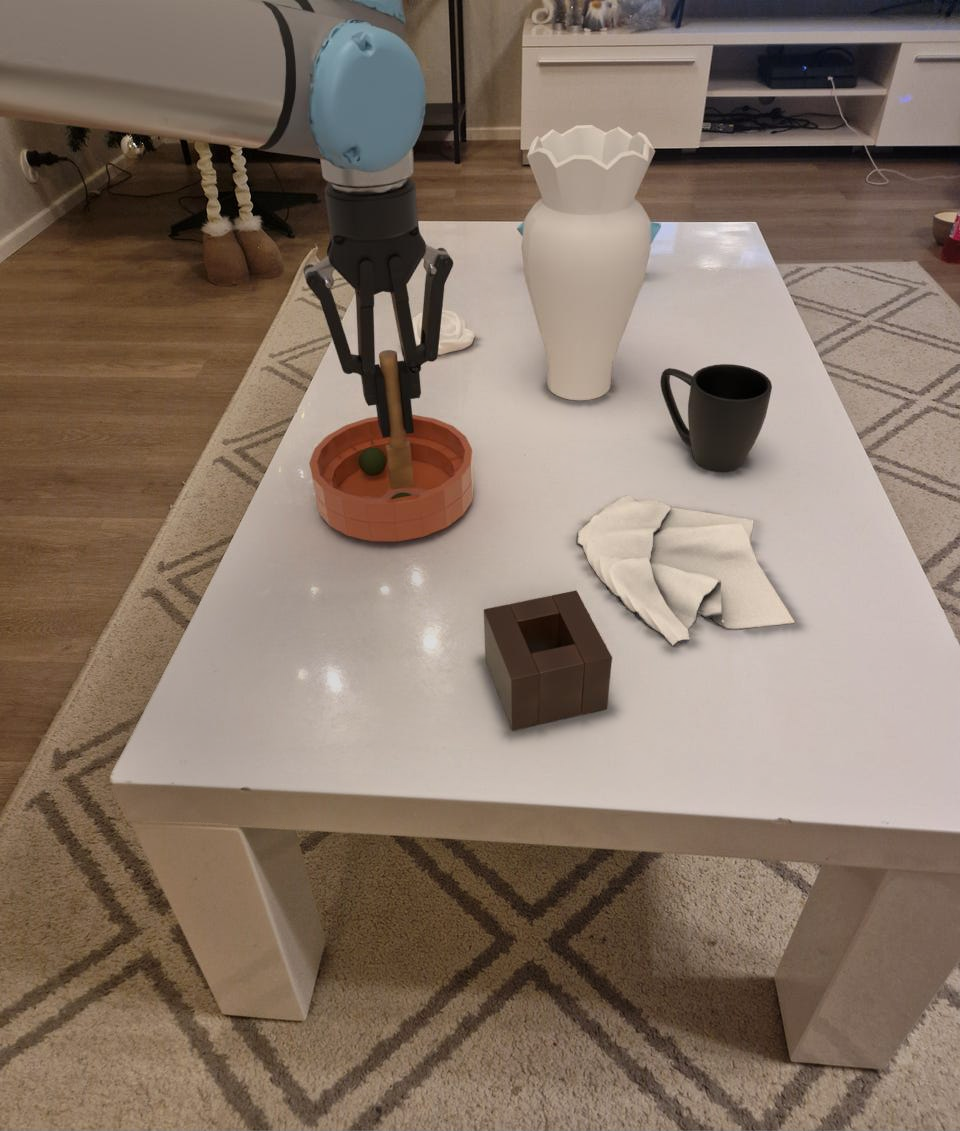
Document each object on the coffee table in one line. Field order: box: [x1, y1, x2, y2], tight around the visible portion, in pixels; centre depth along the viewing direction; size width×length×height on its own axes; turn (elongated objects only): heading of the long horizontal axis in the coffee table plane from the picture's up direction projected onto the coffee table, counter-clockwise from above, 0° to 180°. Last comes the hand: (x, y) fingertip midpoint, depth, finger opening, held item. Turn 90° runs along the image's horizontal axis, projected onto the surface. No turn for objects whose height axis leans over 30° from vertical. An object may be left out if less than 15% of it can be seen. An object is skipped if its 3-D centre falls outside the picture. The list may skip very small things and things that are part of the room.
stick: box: [378, 349, 414, 489], centre depth 85 cm, size 2×2×15 cm
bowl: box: [308, 414, 475, 542], centre depth 90 cm, size 17×17×6 cm
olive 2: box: [391, 492, 412, 499], centre depth 87 cm, size 3×3×3 cm
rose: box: [412, 309, 476, 356], centre depth 119 cm, size 10×4×10 cm
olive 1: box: [359, 448, 386, 475], centre depth 94 cm, size 3×3×3 cm
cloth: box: [575, 495, 795, 646], centre depth 81 cm, size 20×22×2 cm
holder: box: [483, 589, 613, 732], centre depth 69 cm, size 8×8×6 cm
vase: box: [521, 124, 656, 401], centre depth 100 cm, size 15×15×29 cm
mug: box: [659, 363, 773, 473], centre depth 94 cm, size 8×12×10 cm
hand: (396, 428), depth 86 cm, fingers closed on stick, 2 cm apart
